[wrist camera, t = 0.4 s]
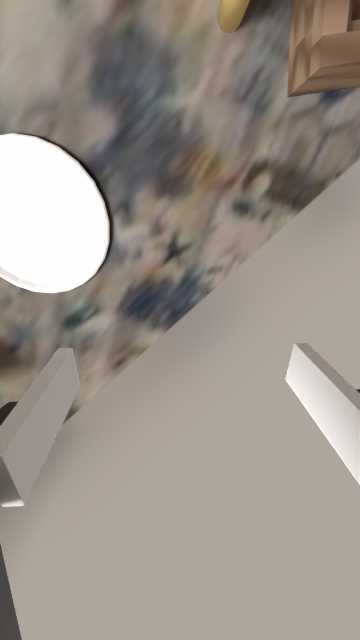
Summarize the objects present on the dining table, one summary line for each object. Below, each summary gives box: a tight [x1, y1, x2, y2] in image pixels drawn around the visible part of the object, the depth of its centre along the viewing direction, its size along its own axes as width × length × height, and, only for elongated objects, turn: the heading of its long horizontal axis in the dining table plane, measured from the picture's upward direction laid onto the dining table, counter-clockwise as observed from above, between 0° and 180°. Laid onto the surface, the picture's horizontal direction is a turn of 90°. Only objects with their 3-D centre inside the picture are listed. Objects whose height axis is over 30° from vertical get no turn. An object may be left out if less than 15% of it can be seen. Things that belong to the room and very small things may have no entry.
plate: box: [0, 133, 110, 293], centre depth 35 cm, size 21×21×1 cm
